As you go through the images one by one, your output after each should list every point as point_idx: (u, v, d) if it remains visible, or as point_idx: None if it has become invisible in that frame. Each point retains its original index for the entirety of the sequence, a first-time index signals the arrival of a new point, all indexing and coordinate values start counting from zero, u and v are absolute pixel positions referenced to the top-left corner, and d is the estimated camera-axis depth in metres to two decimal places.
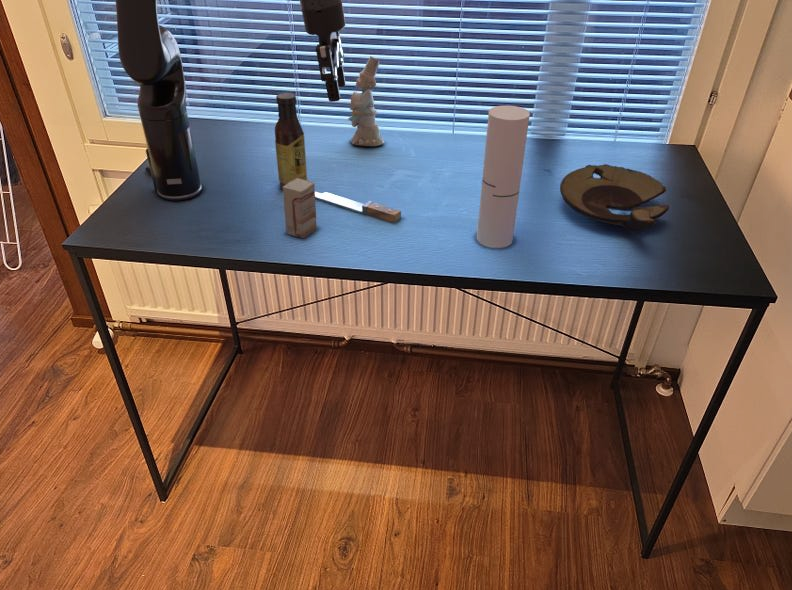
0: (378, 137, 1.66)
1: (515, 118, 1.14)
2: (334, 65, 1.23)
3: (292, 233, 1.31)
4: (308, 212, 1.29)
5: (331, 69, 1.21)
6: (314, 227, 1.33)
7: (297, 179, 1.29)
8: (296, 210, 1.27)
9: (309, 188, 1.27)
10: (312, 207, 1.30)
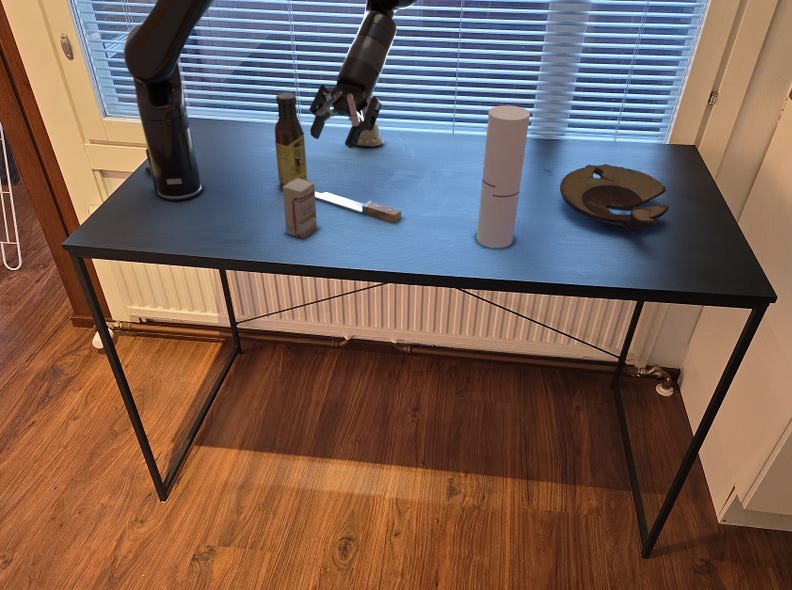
0: (378, 137, 1.66)
1: (515, 118, 1.14)
2: (362, 119, 1.31)
3: (292, 233, 1.31)
4: (308, 212, 1.29)
5: (375, 121, 1.30)
6: (314, 227, 1.33)
7: (297, 179, 1.29)
8: (297, 210, 1.27)
9: (309, 188, 1.27)
10: (312, 207, 1.30)
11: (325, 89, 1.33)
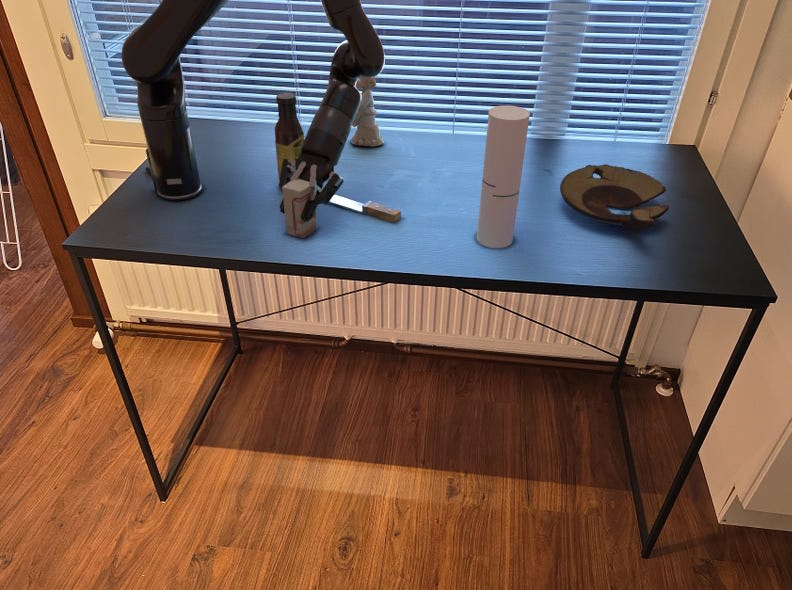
0: (378, 137, 1.66)
1: (515, 118, 1.14)
2: None
3: (292, 233, 1.31)
4: None
5: (331, 196, 1.28)
6: (314, 227, 1.33)
7: None
8: (296, 210, 1.27)
9: (309, 188, 1.27)
10: None
11: (288, 162, 1.31)
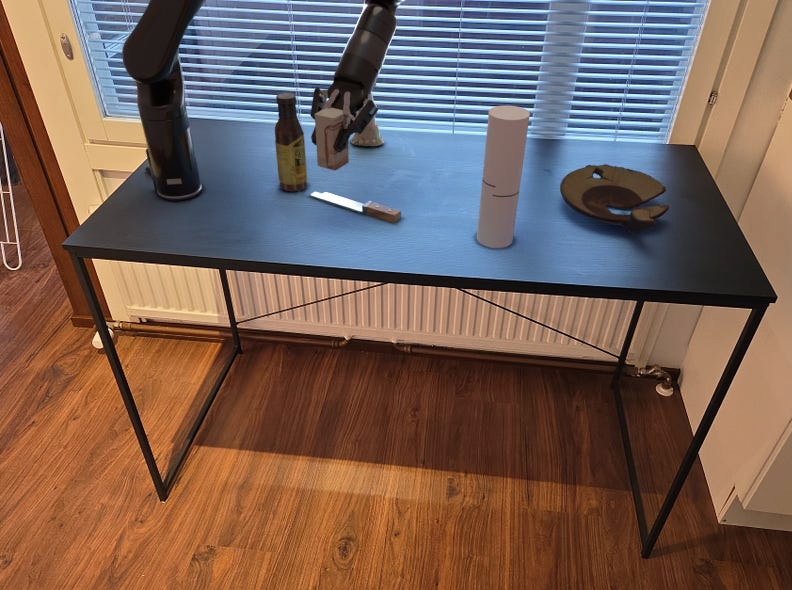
0: (378, 137, 1.66)
1: (515, 118, 1.14)
2: None
3: (323, 165, 1.26)
4: None
5: (366, 125, 1.23)
6: (346, 160, 1.28)
7: None
8: (329, 139, 1.22)
9: (342, 116, 1.22)
10: None
11: (320, 91, 1.26)
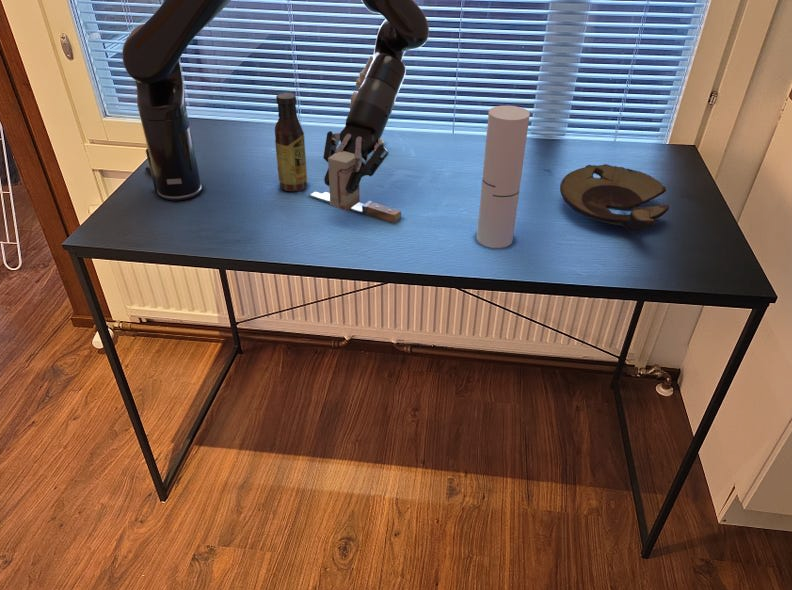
0: None
1: (515, 118, 1.14)
2: None
3: (336, 205, 1.33)
4: None
5: (376, 168, 1.29)
6: (357, 199, 1.34)
7: None
8: (341, 181, 1.29)
9: (354, 159, 1.28)
10: None
11: (333, 135, 1.32)
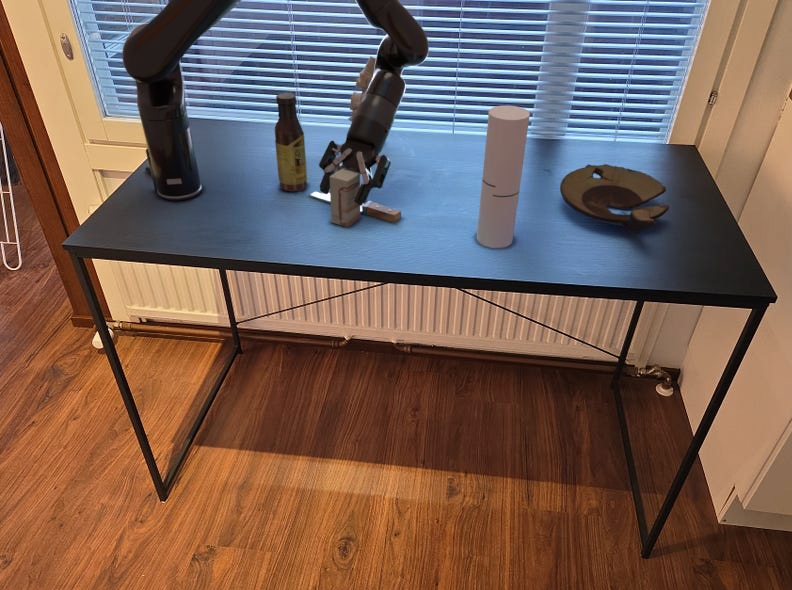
0: None
1: (515, 118, 1.14)
2: (371, 176, 1.32)
3: (337, 222, 1.35)
4: (353, 201, 1.33)
5: (384, 179, 1.31)
6: (358, 216, 1.37)
7: (343, 169, 1.33)
8: (342, 199, 1.31)
9: (355, 178, 1.31)
10: None
11: (334, 145, 1.34)
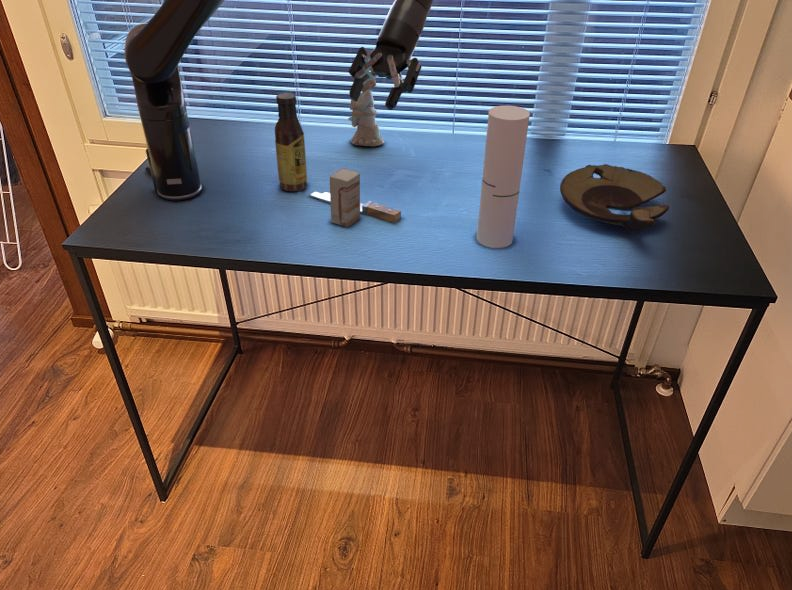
0: (378, 137, 1.66)
1: (515, 118, 1.14)
2: (402, 81, 1.31)
3: (337, 222, 1.35)
4: (353, 201, 1.33)
5: (414, 83, 1.30)
6: (358, 216, 1.37)
7: (343, 169, 1.33)
8: (342, 199, 1.31)
9: (355, 178, 1.31)
10: (357, 197, 1.34)
11: (364, 51, 1.33)
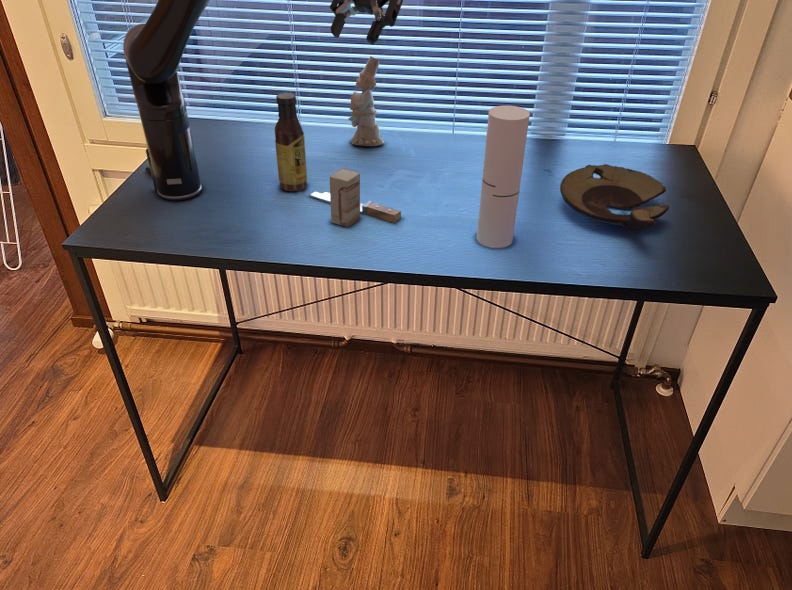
0: (378, 137, 1.66)
1: (515, 118, 1.14)
2: (383, 16, 1.30)
3: (337, 222, 1.35)
4: (353, 201, 1.33)
5: (396, 17, 1.28)
6: (358, 216, 1.37)
7: (343, 169, 1.33)
8: (342, 199, 1.31)
9: (355, 178, 1.31)
10: (357, 197, 1.34)
11: None
